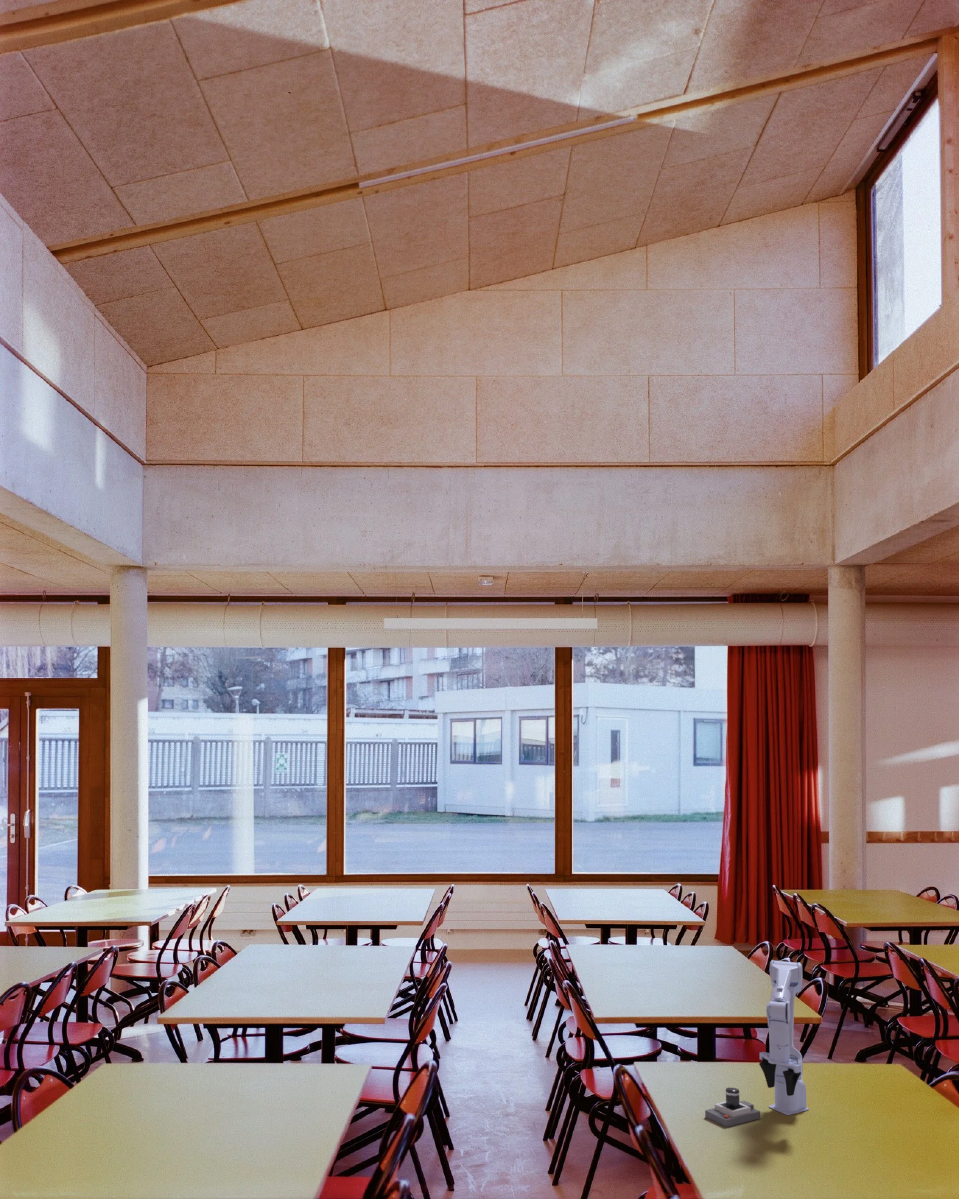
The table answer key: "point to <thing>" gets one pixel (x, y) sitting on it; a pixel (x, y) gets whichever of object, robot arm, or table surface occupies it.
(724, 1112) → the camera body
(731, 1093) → the lens
